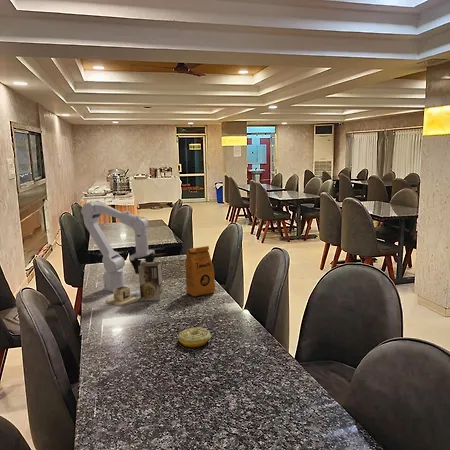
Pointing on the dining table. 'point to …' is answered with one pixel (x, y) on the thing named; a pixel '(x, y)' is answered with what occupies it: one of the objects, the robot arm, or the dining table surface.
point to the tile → (124, 303)
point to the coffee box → (150, 281)
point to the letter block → (121, 293)
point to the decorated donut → (194, 337)
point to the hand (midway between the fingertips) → (143, 271)
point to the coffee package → (199, 272)
